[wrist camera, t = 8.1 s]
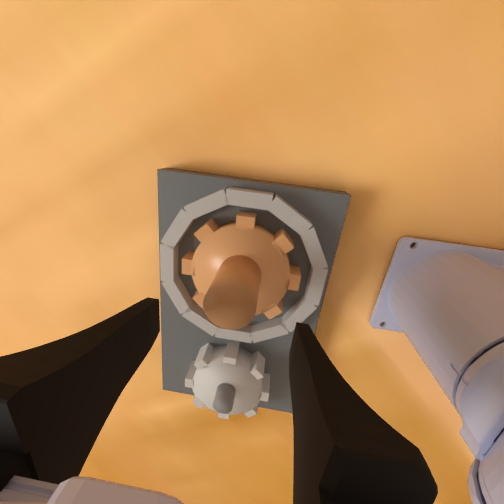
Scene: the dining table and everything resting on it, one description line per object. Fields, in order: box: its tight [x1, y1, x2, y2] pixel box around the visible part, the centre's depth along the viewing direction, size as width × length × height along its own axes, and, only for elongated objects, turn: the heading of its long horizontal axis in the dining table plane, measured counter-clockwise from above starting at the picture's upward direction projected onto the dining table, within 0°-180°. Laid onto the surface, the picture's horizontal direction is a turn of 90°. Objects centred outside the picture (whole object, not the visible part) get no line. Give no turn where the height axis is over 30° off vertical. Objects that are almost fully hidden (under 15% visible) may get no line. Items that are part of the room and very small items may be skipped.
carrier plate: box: [157, 168, 351, 419], centre depth 20 cm, size 13×21×5 cm, turn 173°
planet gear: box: [182, 210, 301, 329], centre depth 17 cm, size 8×8×6 cm
